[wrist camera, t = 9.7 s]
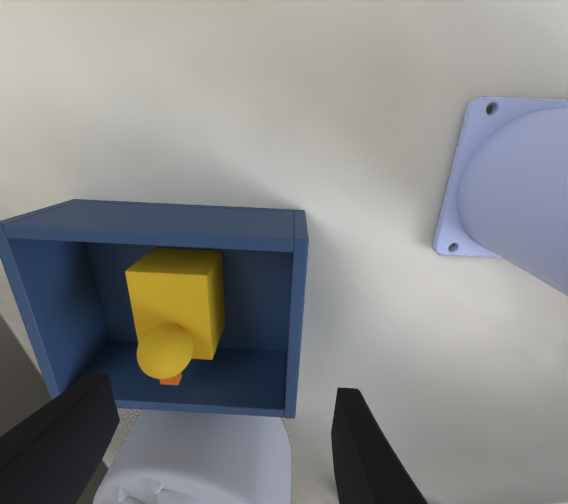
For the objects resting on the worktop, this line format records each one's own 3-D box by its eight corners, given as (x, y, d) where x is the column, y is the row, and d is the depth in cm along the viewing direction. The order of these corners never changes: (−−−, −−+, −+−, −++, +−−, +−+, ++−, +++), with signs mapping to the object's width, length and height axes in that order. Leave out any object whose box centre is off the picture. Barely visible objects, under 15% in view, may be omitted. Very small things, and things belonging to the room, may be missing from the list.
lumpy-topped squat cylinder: (192, 485, 26) (147, 640, 18) (118, 380, 22) (15, 525, 14) (302, 465, 25) (307, 625, 17) (247, 348, 20) (217, 490, 12)
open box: (304, 209, 16) (308, 240, 12) (295, 353, 20) (295, 418, 16) (73, 199, 16) (-14, 224, 12) (107, 343, 20) (52, 404, 16)
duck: (222, 250, 17) (190, 300, 12) (225, 333, 19) (200, 406, 14) (153, 247, 17) (93, 295, 12) (165, 330, 19) (118, 401, 14)
